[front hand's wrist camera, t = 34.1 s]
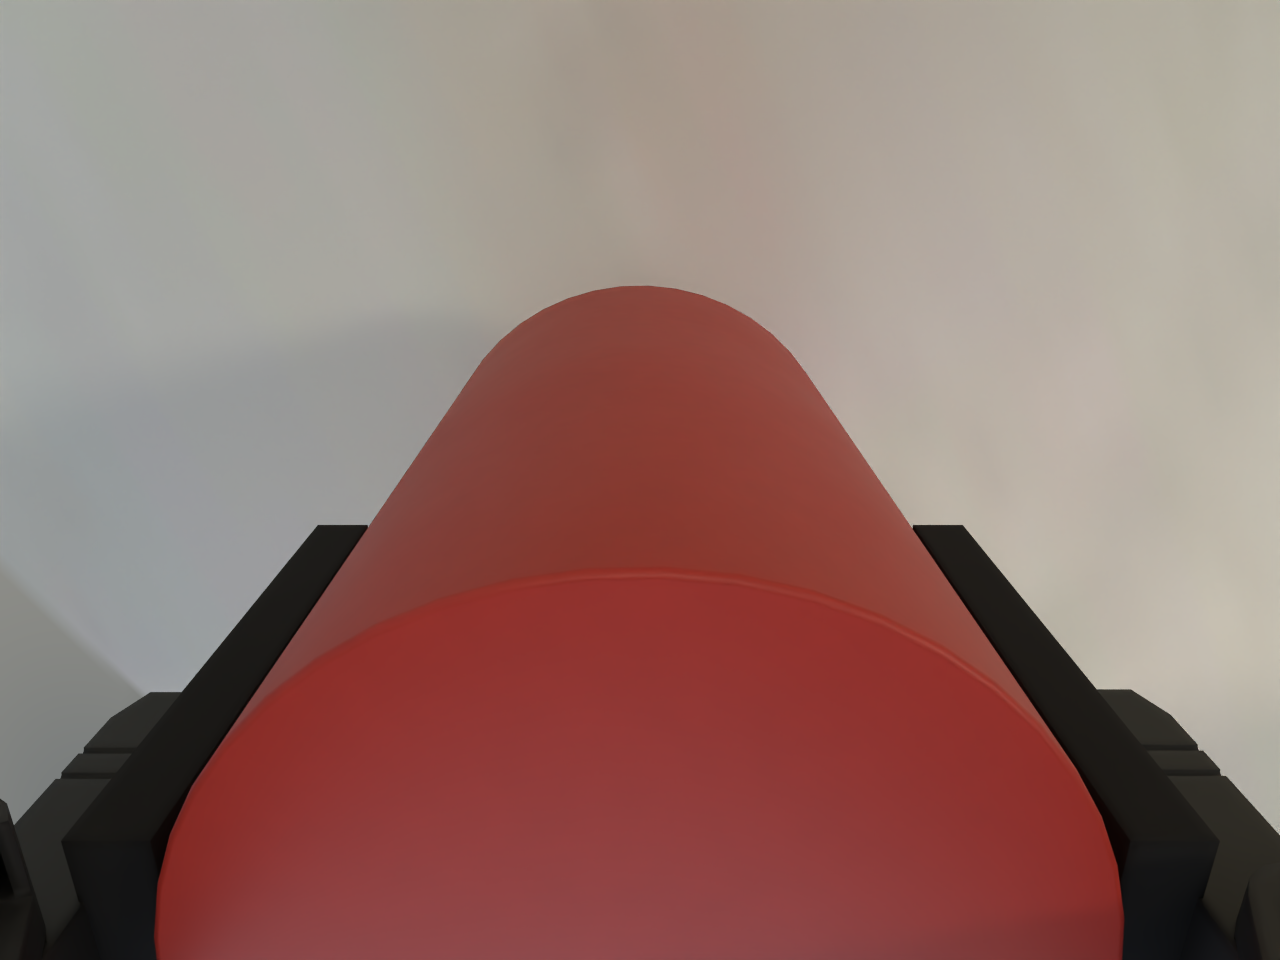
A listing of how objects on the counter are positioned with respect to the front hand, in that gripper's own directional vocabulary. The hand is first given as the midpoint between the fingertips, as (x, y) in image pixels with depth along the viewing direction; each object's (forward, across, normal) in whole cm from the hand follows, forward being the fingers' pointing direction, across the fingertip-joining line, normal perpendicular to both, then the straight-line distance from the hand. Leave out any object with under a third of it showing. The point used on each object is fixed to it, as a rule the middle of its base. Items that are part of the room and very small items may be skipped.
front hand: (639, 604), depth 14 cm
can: (+6, 0, 0) cm, 6 cm away
